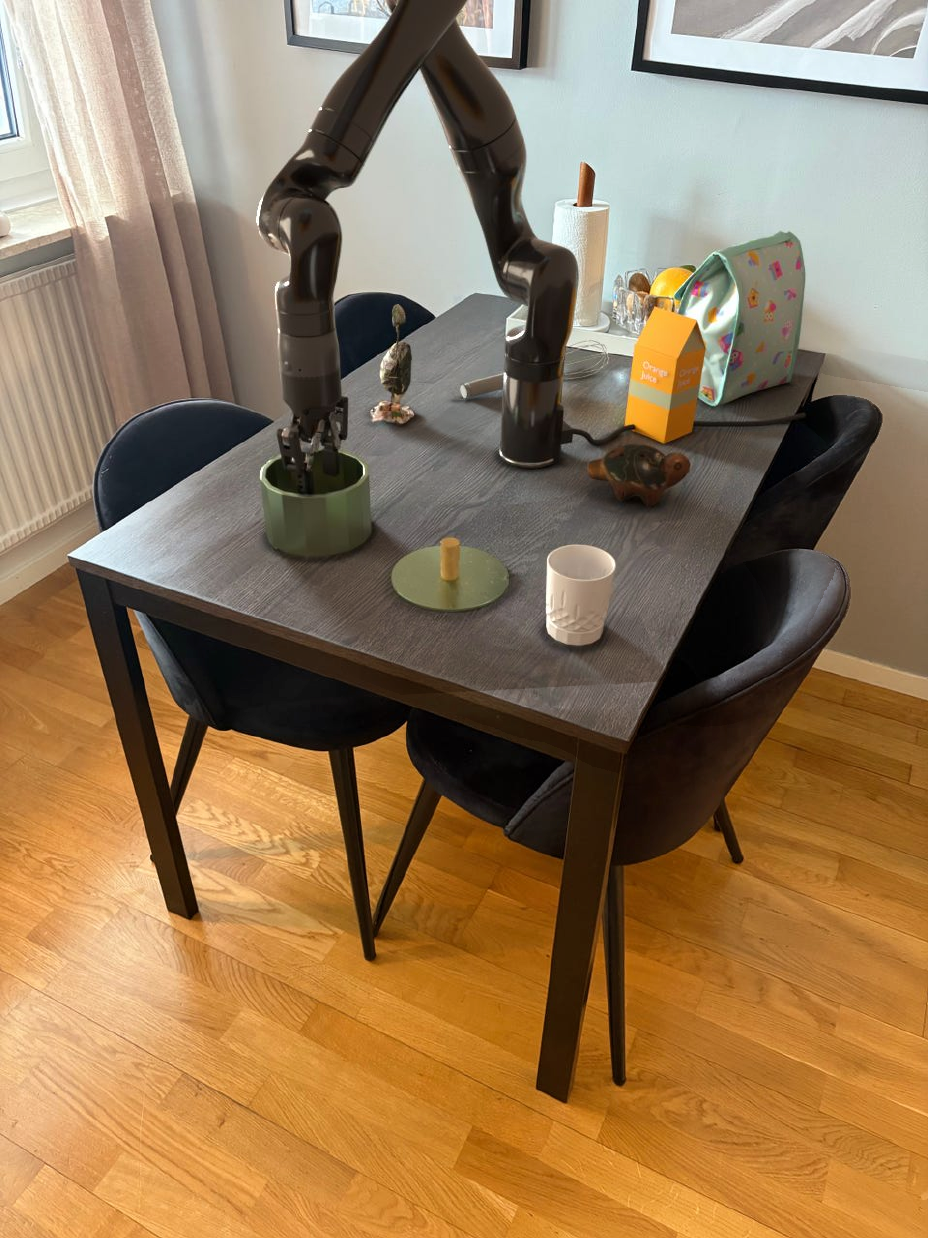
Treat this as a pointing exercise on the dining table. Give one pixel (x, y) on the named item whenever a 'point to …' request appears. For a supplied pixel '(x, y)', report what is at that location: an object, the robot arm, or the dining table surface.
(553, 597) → the white cup
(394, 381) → the plant with pod
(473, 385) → the kitchen whisk
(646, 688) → the dining table surface
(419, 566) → the lid
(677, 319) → the orange juice
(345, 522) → the tin
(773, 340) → the lunch bag
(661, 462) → the decorative turtle
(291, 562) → the dining table surface
